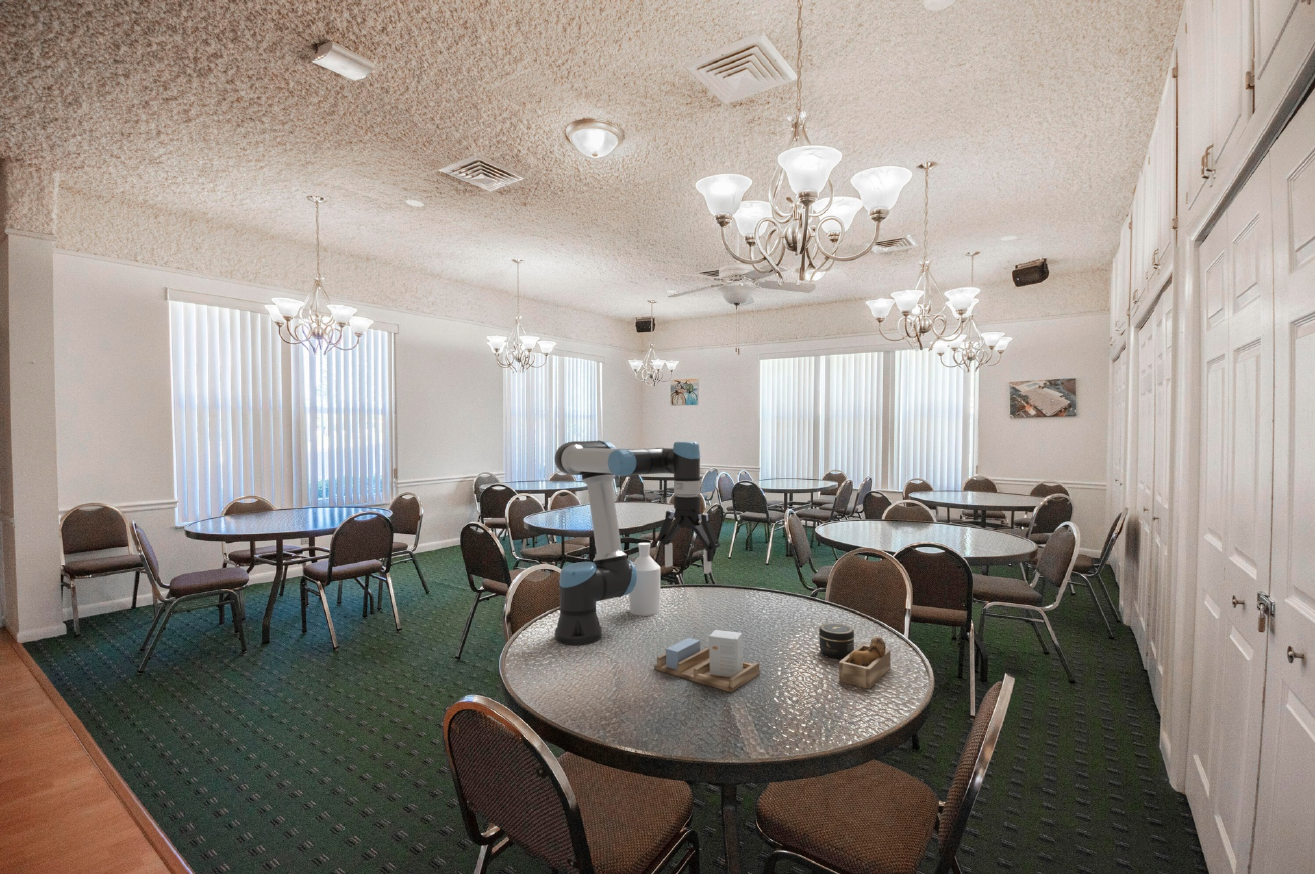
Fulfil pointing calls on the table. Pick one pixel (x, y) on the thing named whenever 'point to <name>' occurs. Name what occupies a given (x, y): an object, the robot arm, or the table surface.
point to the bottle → (645, 584)
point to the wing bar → (681, 651)
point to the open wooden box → (864, 669)
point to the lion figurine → (868, 653)
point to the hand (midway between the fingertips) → (687, 569)
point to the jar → (836, 640)
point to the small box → (725, 653)
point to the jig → (708, 671)
